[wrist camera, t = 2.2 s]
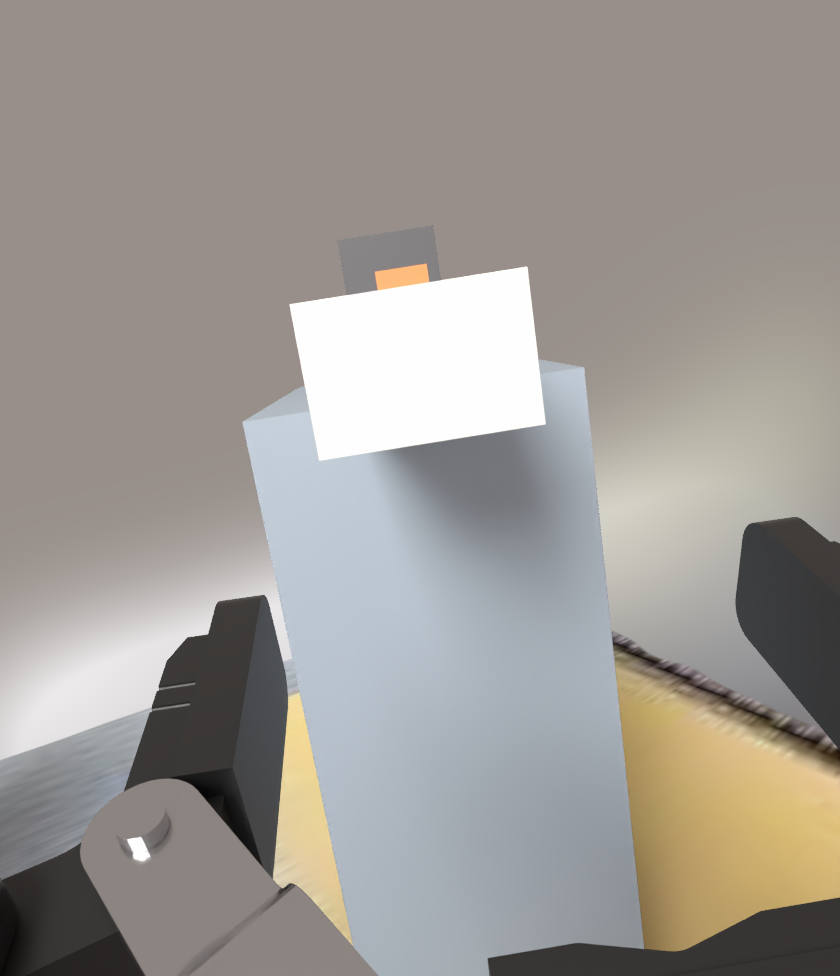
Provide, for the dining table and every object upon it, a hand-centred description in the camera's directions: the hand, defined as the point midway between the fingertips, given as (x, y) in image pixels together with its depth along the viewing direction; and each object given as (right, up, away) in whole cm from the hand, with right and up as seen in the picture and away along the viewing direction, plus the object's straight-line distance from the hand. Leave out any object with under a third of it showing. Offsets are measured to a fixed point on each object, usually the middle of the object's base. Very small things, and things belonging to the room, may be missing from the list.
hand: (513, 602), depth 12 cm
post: (+3, -24, +28) cm, 37 cm away
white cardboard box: (-2, +6, +15) cm, 16 cm away
